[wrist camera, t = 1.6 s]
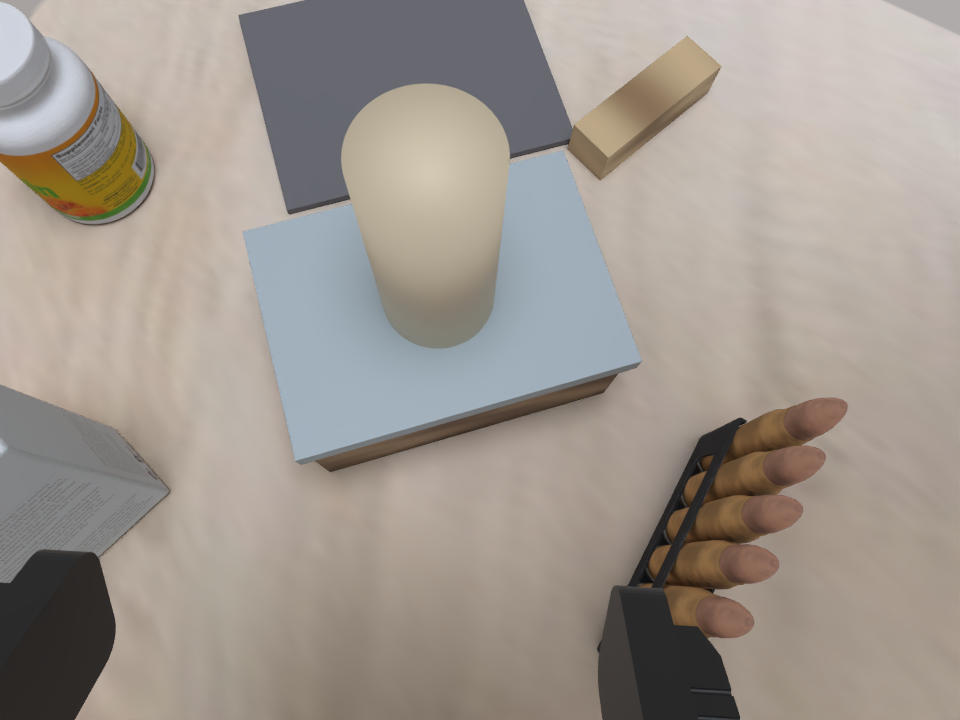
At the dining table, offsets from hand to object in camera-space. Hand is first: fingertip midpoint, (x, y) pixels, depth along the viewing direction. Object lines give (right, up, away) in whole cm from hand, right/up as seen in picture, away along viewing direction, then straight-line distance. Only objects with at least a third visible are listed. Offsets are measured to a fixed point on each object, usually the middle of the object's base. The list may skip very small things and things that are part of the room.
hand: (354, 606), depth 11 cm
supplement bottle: (-17, +13, +25) cm, 33 cm away
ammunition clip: (+10, -5, +21) cm, 24 cm away
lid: (0, +6, +18) cm, 19 cm away
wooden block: (+10, +16, +27) cm, 33 cm away
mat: (-2, +19, +27) cm, 33 cm away
